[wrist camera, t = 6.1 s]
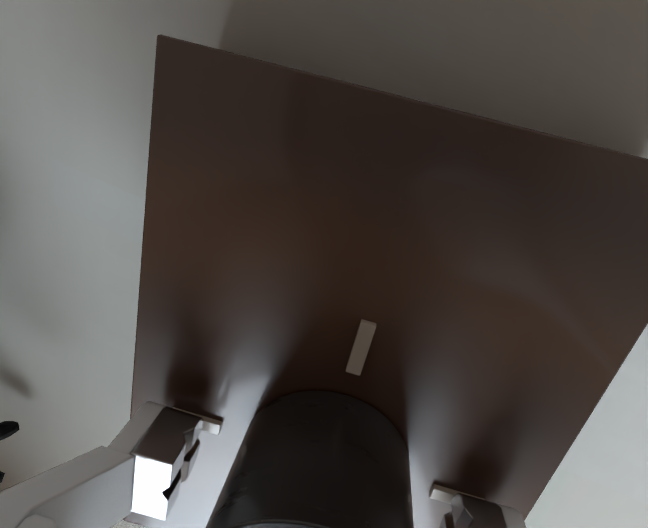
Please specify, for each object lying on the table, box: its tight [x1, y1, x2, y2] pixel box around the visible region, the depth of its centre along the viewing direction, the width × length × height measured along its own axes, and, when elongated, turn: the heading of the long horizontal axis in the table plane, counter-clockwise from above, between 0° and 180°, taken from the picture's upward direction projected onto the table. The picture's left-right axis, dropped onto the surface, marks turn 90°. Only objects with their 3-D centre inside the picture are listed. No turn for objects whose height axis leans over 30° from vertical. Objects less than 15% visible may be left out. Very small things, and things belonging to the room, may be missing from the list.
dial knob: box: [205, 391, 414, 528], centre depth 9 cm, size 4×4×4 cm
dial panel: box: [123, 35, 648, 528], centre depth 12 cm, size 14×11×3 cm
